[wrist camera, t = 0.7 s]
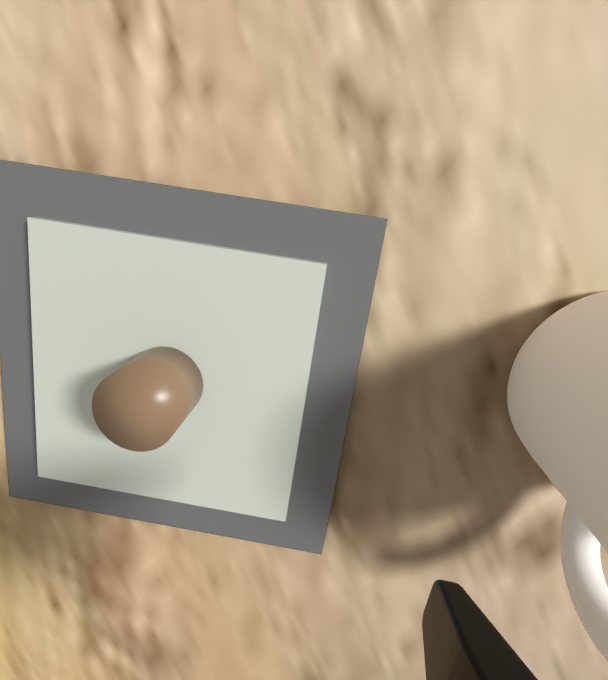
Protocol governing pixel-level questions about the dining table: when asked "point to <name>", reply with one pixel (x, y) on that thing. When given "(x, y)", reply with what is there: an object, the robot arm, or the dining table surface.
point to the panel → (170, 365)
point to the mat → (215, 229)
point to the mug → (571, 440)
